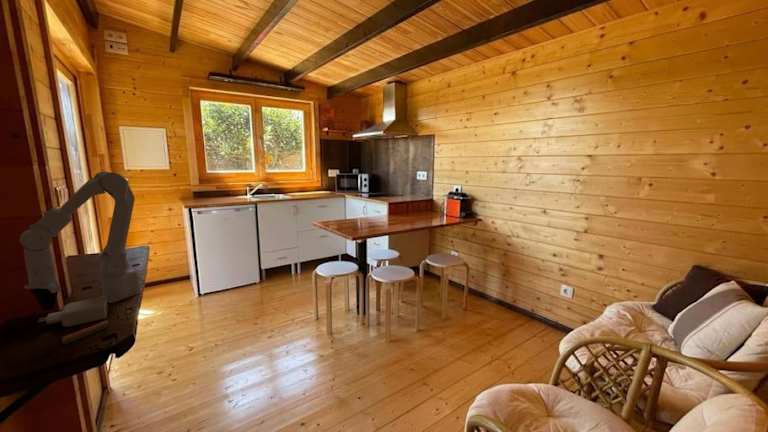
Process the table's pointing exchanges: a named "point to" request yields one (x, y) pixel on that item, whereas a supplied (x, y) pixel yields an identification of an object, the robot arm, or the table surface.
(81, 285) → the table surface
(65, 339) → the brown stick
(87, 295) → the table surface
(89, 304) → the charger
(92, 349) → the table surface
